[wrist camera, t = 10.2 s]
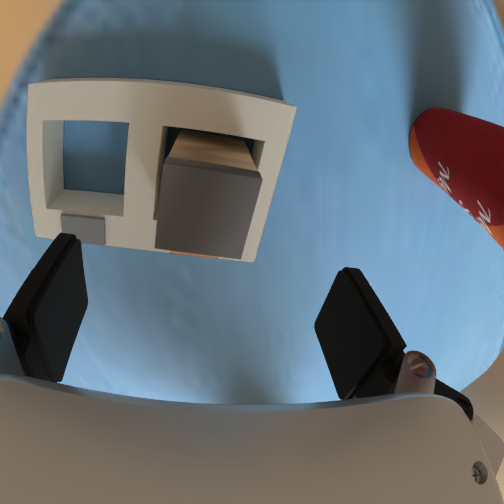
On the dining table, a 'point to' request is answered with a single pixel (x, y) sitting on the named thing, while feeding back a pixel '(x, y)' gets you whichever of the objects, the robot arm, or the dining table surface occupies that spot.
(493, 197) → the paper cup
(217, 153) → the plug
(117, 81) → the socket block
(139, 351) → the dining table surface
